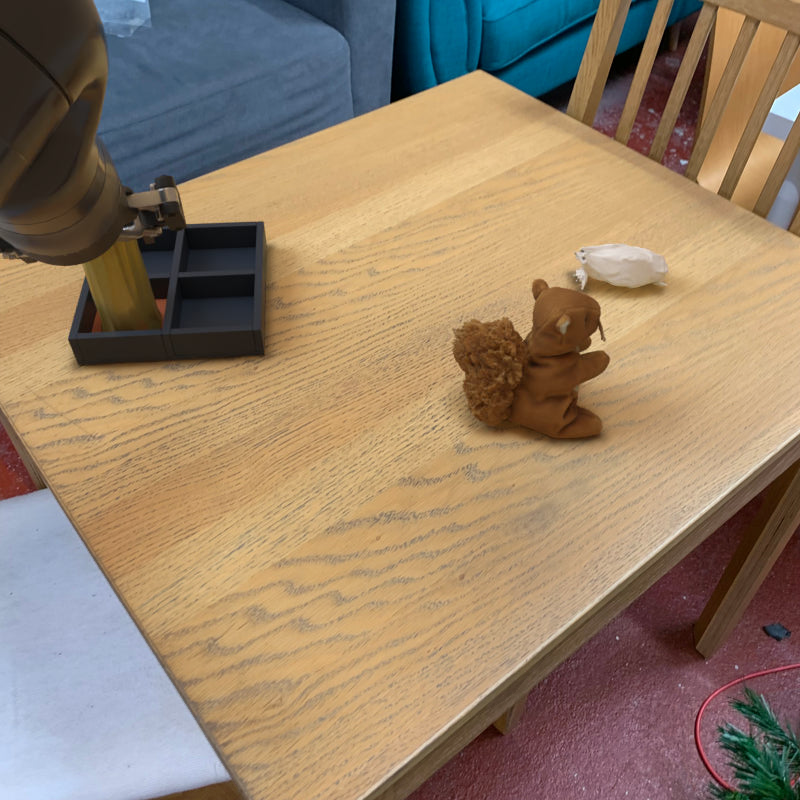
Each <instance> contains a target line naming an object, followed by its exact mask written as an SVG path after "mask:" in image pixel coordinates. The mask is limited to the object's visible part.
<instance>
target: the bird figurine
mask: <svg viewBox="0 0 800 800" xmlns="http://www.w3.org/2000/svg"><path fill="white" fill-rule="evenodd" d="M574 255H575V260H576V261H579V263H581V267H579V268H576V269H575V273H573V277H577V278H576V280H575V282H577V281H579V282H580V283H579V284H578V285H579V286H581V291H583V290H584V289H585V286H586V284H587V282H588V280H589V279H588V278H589V277H591V278H592V279H594V280H596V281H601V282H606V283H609V284H610V285H613V286H615V287H625V288H629V289H635V288H639V287H643V286H645V285H648V284H652V285H655V286H657V287H668V284H666V283H665V282H663V281H664V280H665V278H666V276H667V275H669V266H668V263H667V261H666V259H665V257H664V256H663V255H661V254H659V253H656V252H654V251H652V250H651V249H648V248H644V247H640V246H633V245H629V244H627V243H623V242H621V243H605V244H599V245H588V246H582V247H581V248H580V250H579V251H576V250H575V251H574Z"/></svg>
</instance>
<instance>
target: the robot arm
mask: <svg viewBox="0 0 800 800" xmlns="http://www.w3.org/2000/svg"><path fill="white" fill-rule="evenodd" d="M109 59H110V58H109V46H108V39H107V35H106V31H105V28H104V24H103V22H102V18H101V17H100V13H99V11H98V7H96V3H95V1H94V0H0V254H1V256H2V259H4V260H9V261H14V260H21V261H22V262H23V263H25V264H28V265H30V264H34V263H35V264H36V263H38V262H39V263H42V264H46V265H49V266H50V265H51V266H55V267H56V266H57V267H72V266H79V265H82V264H83V263H87V262H89V261H92V260H94V259H96V258H98V257H99V256H101V255H102V254H104V253H105V252H106V251H107V250H109V249H110V248H111V247H112V246H113V244H114V243H115V242H116V241H119V242H129V241H132V240H135V239H139V238H142V237H143V239H144V241H145V244H151V243H155V241H154V237H159V236H161V235H163V234H162V230H161V228H162V227H164V226H168V227H169V229H170V230H172V231H182V229H185V228H187V225H186V224H187V220H186V216H185V212H184V207H183V203H182V199H181V194H180V191H179V189H178V186H177V184H176V180H175V178H174V176H172V175H167V174H161V175H159V176H158V177H155V178H154V182H153V183H150V184H149V185H148V186H149V190H146V191H140V192H134V190H133V189H132V188H131V187H129V186H127V185H123V183H122V181H121V179H120V176H119V173H118V171H117V168H116V166H115V163H114V161H113V158H112V156H111V154H110V152H109V150H108V148H107V146H106V144H105V143H104V141H103V139H102V138H101V137H100V136H99V134H98V130H99V126H100V123H101V120H102V119H101V118H102V113H103V108H104V103H105V99H106V91H107V85H108V79H109V71H110V70H109V69H110V60H109Z"/></svg>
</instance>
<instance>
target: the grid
mask: <svg viewBox="0 0 800 800" xmlns="http://www.w3.org/2000/svg"><path fill="white" fill-rule="evenodd" d="M186 225H187V228H185V229H182V231H172V230H170V229H169V227H168V226H164V227H162V228H161V230H162V234H163V235H161V236H159V237H154V241H155V243H151V244H145V241H144V239H143V237H142V238H139V239H137V243H138V247H139V250H140V253H141V256H142V259H143V262H144V265H145V268H146V271H147V274H148V278H149V281H150V285H151V289H152V292H153V295H154V298H155V301H156V304H157V307H158V309H159V311H160V313H161V314H162V326H161V328H160V329H154V330H134V331H114V332H102V329H101V318H100V315H99V313H98V310H97V308H96V306H95V303H94V300H93V297H92V294H91V291H90V288H89V284H88V281H87V278H86V275H84V278H83V282H82V286H81V290H80V293H79V297H78V301H77V303H76V308H75V311H74V315H73V319H72V322H71V326H70V330H69V333H68V335H67V342H68V343H69V346H70V349H71V351H72V353H73V355H74V358H75V361H76V363H77V366H89V365H90V366H91V365H111V364H129V363H147V362H148V363H149V362H166V361H168V362H169V361H184V360H185V361H186V360H187V361H188V360H202V359H203V360H206V359H223V358H243V357H260V356H261V357H262V356H265V354H266V317H267V315H266V312H267V311H266V309H267V271H268V270H267V268H268V267H267V266H268V265H267V264H268V244H267V243H268V242H267V237H266V228H265V221H264V220H259V221H256V220H255V221H254V220H253V221H235V222H234V221H232V222H231V221H229V222H227V221H226V222H205V223H202V222H201V223H186Z"/></svg>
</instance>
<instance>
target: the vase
mask: <svg viewBox="0 0 800 800" xmlns="http://www.w3.org/2000/svg"><path fill="white" fill-rule="evenodd" d="M81 266H82V269H83V271H84V274H85V275H86V278H87V281H88V284H89V288H90V291H91V294H92V297H93V300H94V303H95V306H96V308H97V310H98V313H99V315H100V318H101V329H102V332H114V331H134V330H154V329H160V328H161V326H162V314H161V313H160V311H159V309H158V307H157V304H156V301H155V298H154V295H153V292H152V289H151V285H150V281H149V278H148V274H147V271H146V268H145V265H144V262H143V259H142V256H141V253H140V250H139V247H138V243H137V239H135V240H132V241H129V242H119V241H116V242H115V243H114V244H113V246H112V247H111V248H110V249H109V250H107V251H106V252H105V253H104V254H102V255H101V256H99V257H98V258H96V259H94V260H92V261H89V262H87V263H83V264H81ZM85 275H84V276H85Z"/></svg>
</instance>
